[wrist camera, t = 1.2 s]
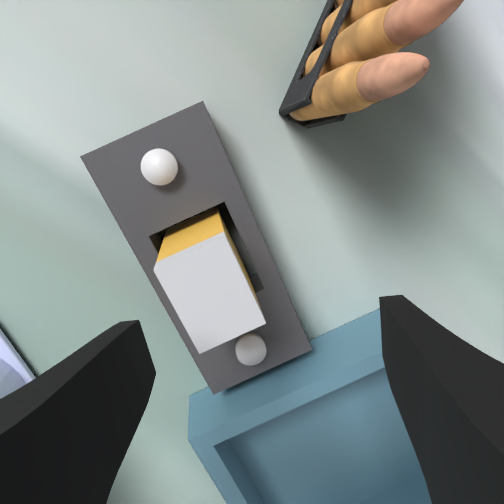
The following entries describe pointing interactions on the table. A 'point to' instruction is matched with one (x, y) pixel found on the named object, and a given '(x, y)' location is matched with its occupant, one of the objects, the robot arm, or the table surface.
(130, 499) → the table surface
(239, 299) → the block
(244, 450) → the parts tray
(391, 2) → the ammunition clip
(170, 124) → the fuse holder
